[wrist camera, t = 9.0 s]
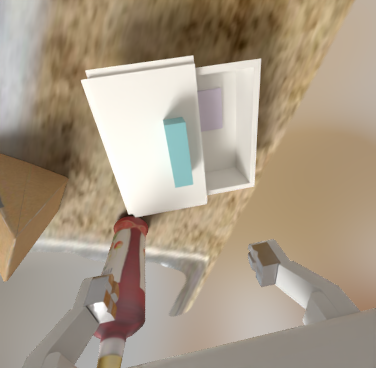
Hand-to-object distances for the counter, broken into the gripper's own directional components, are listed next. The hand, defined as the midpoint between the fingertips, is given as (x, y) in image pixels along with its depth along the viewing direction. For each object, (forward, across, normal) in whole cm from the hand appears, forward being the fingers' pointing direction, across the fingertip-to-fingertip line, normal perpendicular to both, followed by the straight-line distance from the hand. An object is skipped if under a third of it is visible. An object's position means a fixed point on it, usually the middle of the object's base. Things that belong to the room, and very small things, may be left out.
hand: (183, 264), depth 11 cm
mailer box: (+26, -8, -1) cm, 27 cm away
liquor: (+26, +10, +17) cm, 32 cm away
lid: (+20, +1, -1) cm, 20 cm away
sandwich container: (+26, +27, +2) cm, 37 cm away
